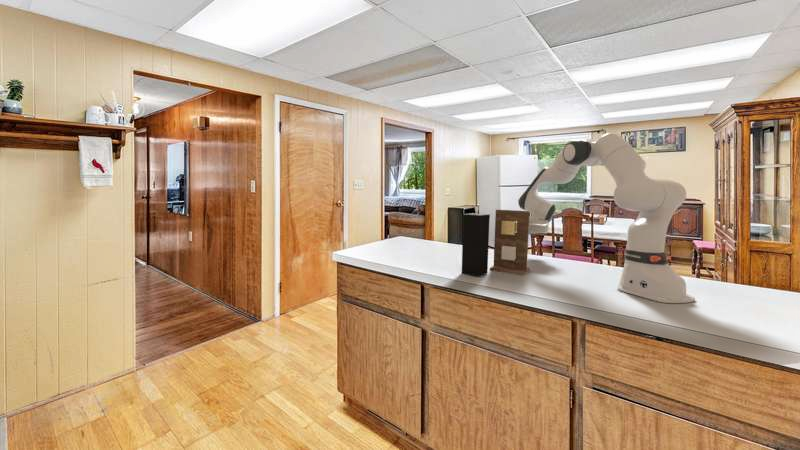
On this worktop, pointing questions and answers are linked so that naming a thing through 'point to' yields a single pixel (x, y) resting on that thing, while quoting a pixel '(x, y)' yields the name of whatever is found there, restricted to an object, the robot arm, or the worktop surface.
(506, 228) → the upper button
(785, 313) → the worktop surface
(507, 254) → the lower button
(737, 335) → the worktop surface
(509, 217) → the call panel
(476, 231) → the tall black box
